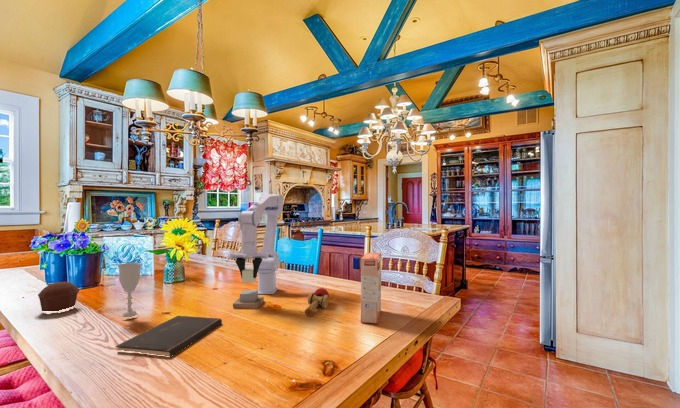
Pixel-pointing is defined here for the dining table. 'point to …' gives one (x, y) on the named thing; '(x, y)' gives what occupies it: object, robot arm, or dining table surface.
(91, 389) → the dining table surface
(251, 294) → the slate cube
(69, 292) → the muffin
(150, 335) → the hardcover book
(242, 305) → the walnut slab
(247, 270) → the sage block
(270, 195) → the robot arm
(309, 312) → the kendama
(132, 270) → the chalice
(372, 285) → the cracker box
